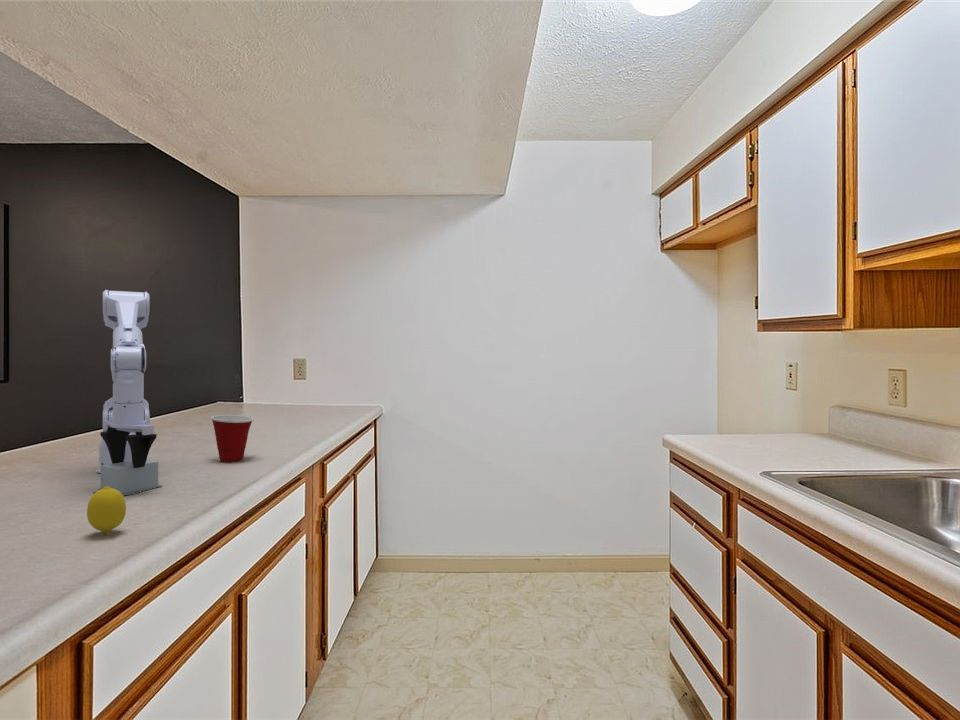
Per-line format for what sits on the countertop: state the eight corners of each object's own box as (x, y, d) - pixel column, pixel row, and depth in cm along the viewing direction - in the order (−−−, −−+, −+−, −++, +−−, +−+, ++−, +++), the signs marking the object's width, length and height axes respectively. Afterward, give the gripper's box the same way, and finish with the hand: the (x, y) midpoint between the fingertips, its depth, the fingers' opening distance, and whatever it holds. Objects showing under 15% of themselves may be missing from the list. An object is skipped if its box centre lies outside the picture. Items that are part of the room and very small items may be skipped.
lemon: (98, 528, 103) (98, 482, 103) (132, 528, 103) (132, 482, 103) (79, 539, 97) (79, 490, 97) (115, 538, 98) (115, 490, 98)
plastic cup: (238, 465, 156) (238, 419, 156) (201, 463, 158) (201, 417, 158) (261, 457, 167) (261, 414, 166) (226, 455, 169) (227, 413, 168)
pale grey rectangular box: (100, 492, 127) (100, 465, 127) (142, 483, 135) (142, 458, 135) (116, 495, 124) (117, 468, 124) (158, 486, 132) (158, 461, 132)
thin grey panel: (93, 493, 126) (93, 492, 126) (135, 483, 135) (135, 482, 135) (120, 497, 123) (120, 496, 123) (161, 486, 132) (161, 485, 132)
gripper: (167, 403, 129) (167, 465, 129) (126, 398, 136) (126, 458, 136) (134, 405, 123) (134, 471, 123) (94, 401, 129) (94, 463, 130)
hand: (128, 465), depth 129 cm, fingers open, 7 cm apart
